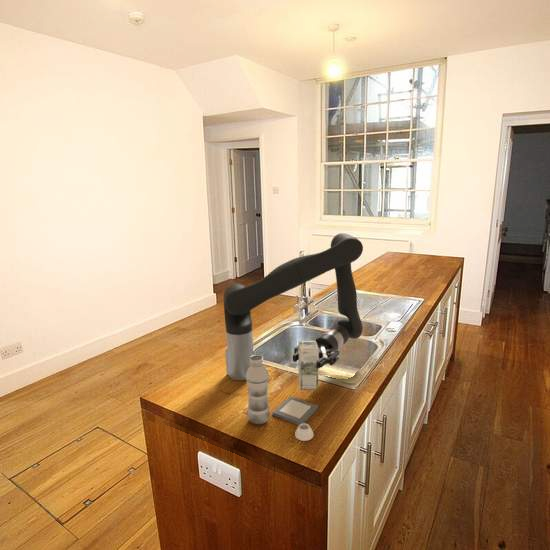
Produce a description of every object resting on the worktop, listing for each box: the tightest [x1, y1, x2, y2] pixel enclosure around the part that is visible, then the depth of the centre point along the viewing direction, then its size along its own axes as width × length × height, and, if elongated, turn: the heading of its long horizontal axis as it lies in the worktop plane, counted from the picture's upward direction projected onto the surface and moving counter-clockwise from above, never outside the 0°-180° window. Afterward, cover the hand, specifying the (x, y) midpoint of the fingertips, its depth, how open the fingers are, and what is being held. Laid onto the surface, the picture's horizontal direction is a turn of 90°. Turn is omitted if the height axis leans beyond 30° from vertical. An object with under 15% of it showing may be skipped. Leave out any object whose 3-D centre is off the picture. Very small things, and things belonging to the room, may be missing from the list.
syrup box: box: [298, 340, 320, 391], centre depth 120 cm, size 6×6×14 cm
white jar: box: [294, 422, 315, 442], centre depth 104 cm, size 5×3×5 cm
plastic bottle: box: [245, 354, 271, 425], centre depth 109 cm, size 6×7×20 cm
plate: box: [272, 396, 319, 426], centre depth 115 cm, size 10×10×1 cm
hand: (305, 362), depth 118 cm, fingers closed on syrup box, 8 cm apart
